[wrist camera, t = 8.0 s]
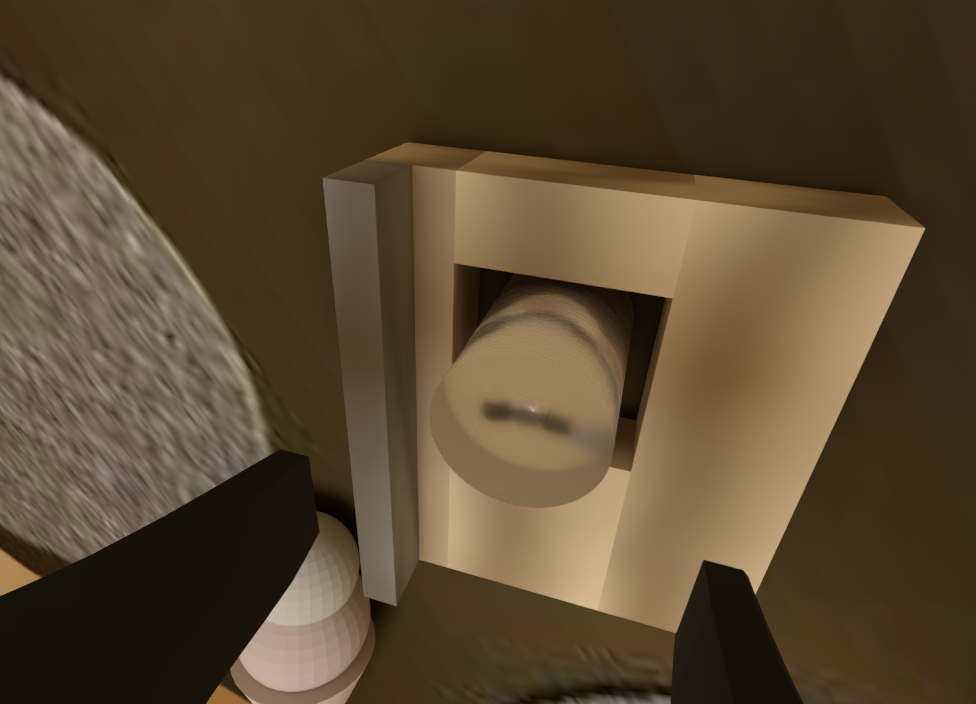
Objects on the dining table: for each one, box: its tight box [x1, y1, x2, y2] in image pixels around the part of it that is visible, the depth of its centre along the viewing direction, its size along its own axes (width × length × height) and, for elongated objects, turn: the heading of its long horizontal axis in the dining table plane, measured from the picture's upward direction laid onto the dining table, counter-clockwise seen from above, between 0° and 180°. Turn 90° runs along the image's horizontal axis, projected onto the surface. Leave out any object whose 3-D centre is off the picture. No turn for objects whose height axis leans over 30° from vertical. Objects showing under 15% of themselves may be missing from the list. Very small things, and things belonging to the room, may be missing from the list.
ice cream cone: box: [231, 512, 376, 704], centre depth 25 cm, size 6×6×15 cm
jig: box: [323, 142, 925, 633], centre depth 16 cm, size 12×14×4 cm
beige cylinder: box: [430, 273, 634, 508], centre depth 14 cm, size 4×4×6 cm
